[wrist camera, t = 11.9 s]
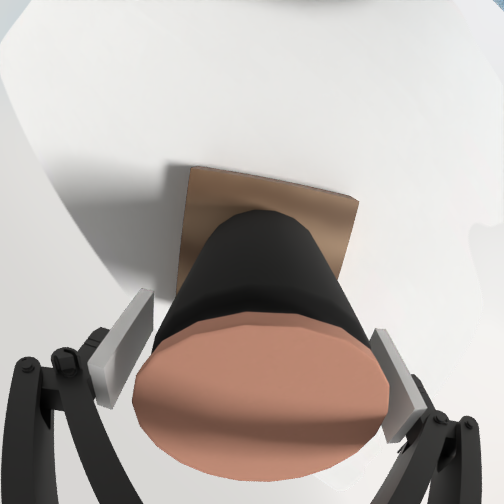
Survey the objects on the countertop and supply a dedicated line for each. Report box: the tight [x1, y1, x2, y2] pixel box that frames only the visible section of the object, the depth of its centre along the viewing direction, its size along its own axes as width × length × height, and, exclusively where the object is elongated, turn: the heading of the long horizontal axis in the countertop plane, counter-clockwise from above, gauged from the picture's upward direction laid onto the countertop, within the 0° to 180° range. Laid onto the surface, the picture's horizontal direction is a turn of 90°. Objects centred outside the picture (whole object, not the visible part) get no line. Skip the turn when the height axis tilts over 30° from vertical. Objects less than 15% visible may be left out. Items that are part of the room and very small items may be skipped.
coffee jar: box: [132, 210, 389, 482], centre depth 19 cm, size 11×11×18 cm
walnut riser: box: [176, 166, 359, 296], centre depth 29 cm, size 15×15×3 cm
